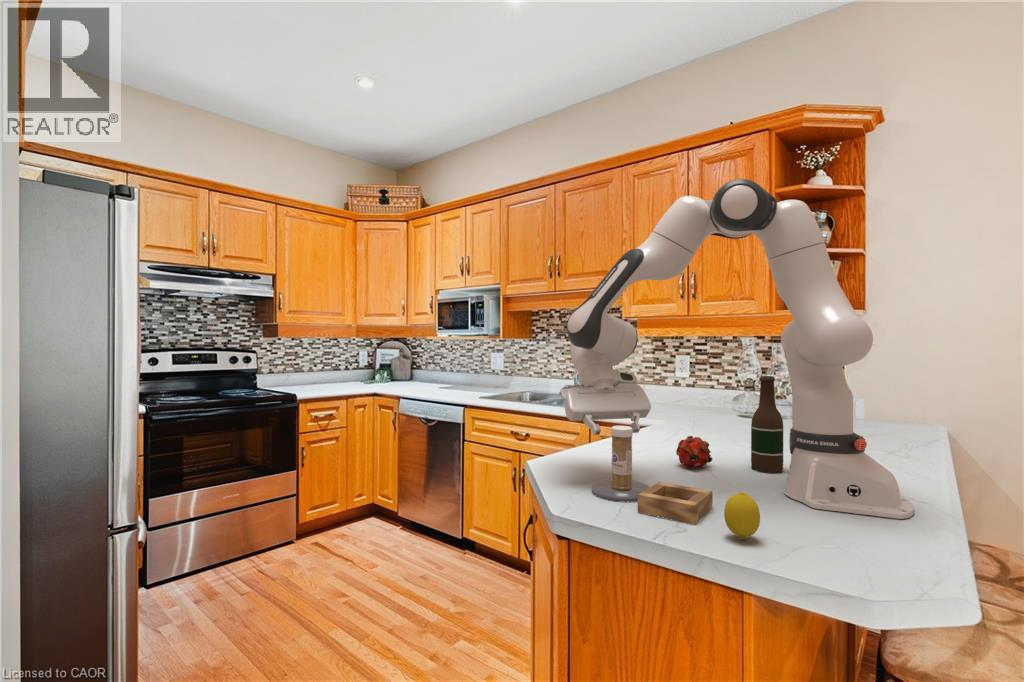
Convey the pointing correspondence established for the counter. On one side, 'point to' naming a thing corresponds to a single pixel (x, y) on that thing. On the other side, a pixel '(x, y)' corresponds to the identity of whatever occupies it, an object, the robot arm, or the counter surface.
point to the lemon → (742, 515)
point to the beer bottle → (767, 431)
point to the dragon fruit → (693, 452)
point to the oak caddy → (675, 502)
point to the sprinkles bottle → (621, 457)
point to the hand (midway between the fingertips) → (616, 432)
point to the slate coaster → (618, 491)
